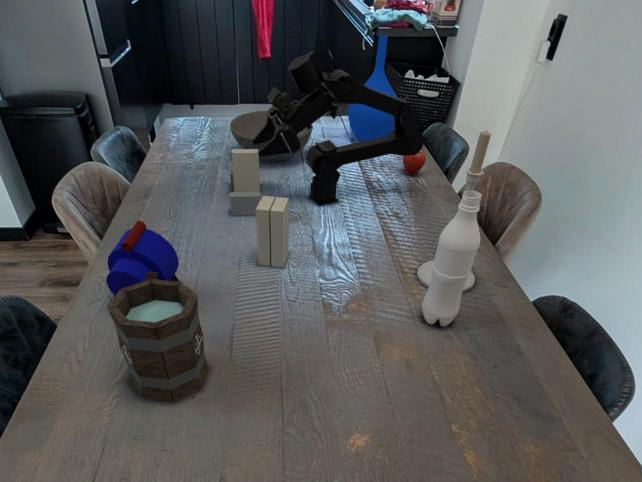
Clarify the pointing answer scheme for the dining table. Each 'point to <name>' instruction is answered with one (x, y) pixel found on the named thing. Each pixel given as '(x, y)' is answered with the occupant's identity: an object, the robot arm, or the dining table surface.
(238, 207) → the grey books
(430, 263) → the candlestick
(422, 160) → the apple
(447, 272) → the water bottle
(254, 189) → the cream rectangular block
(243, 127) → the bowl
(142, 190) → the dining table surface
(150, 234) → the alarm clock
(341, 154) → the robot arm
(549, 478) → the dining table surface
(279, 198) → the white books
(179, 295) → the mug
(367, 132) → the vase
